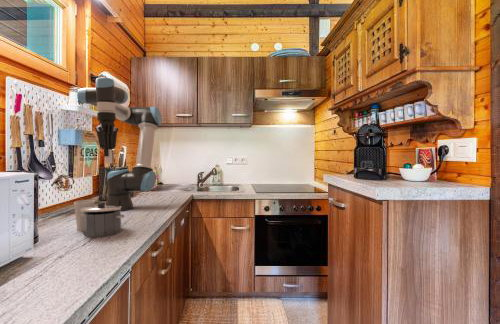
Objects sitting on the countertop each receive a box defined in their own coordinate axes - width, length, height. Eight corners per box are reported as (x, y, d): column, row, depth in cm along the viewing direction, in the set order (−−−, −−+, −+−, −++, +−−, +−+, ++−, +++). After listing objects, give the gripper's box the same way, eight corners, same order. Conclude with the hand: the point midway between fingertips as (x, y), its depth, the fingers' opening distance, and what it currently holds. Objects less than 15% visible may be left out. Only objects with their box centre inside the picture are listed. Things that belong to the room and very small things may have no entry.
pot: (98, 226, 126) (97, 205, 125) (135, 228, 122) (134, 206, 121) (70, 236, 111) (70, 212, 111) (112, 238, 107) (111, 213, 107)
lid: (100, 207, 124) (100, 200, 124) (129, 207, 121) (129, 201, 121) (71, 211, 109) (71, 204, 109) (104, 212, 106) (104, 205, 106)
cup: (86, 231, 118) (85, 203, 118) (70, 230, 120) (69, 203, 119) (99, 226, 126) (99, 200, 125) (84, 225, 127) (83, 199, 127)
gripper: (108, 114, 135) (111, 162, 137) (88, 111, 122) (91, 164, 124) (122, 113, 134) (124, 162, 135) (103, 110, 121) (105, 164, 122)
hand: (108, 163), depth 129 cm, fingers closed
